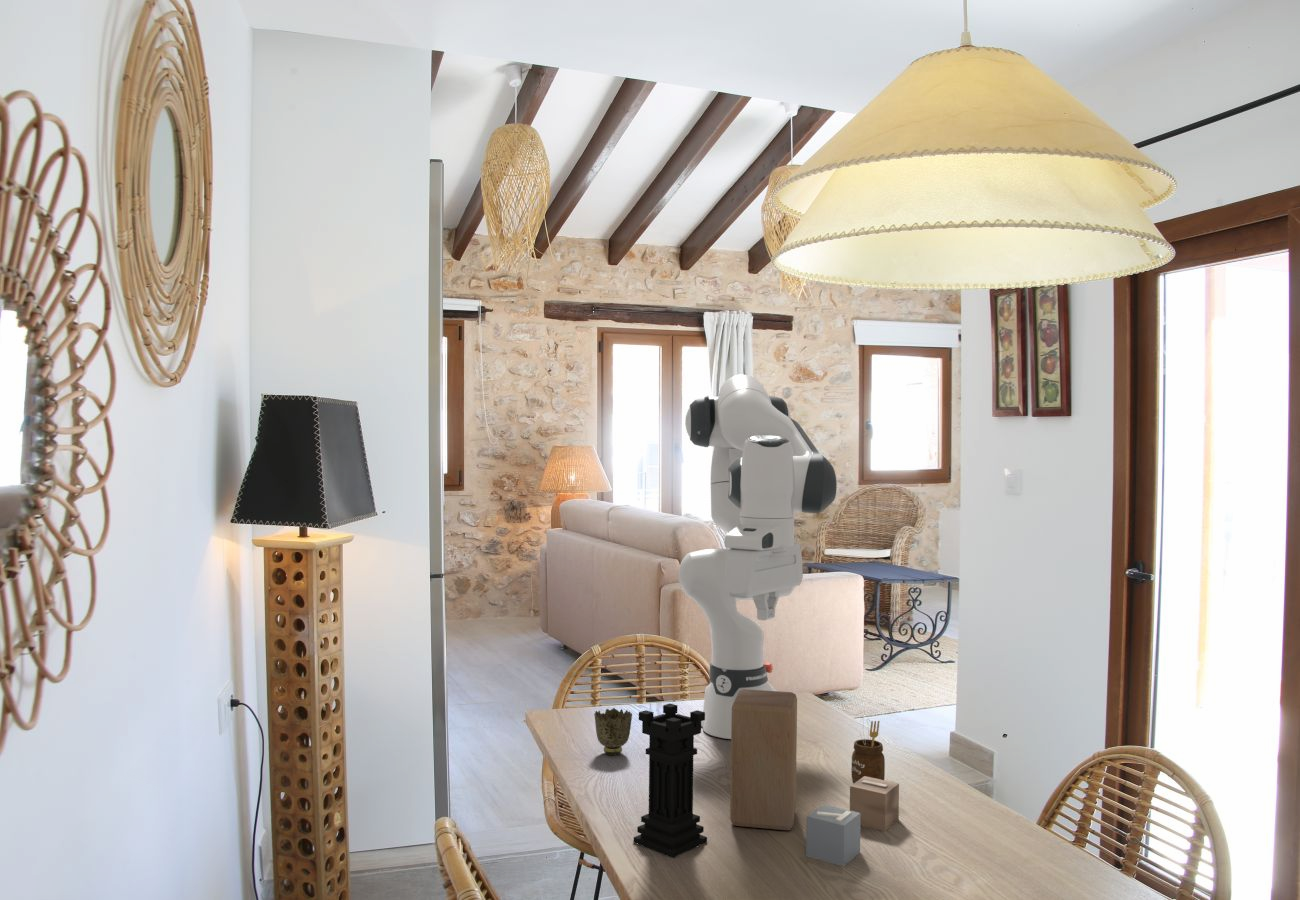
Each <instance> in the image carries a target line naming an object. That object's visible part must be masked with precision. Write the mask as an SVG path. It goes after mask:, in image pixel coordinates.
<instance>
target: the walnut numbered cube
mask: <svg viewBox="0 0 1300 900" xmlns="http://www.w3.org/2000/svg"><path fill="white" fill-rule="evenodd" d="M899 805H900V783H899V782H894V781H889V780H885V779H884V780H881V779H876V778H871V777H867V776H864V777H862V778H861V779H859V780H858V781H857V782H854V783H853V784H850V786H849V810H850V811H854V812H858V813H861V816H860V826H862V827H866V826H867V827H866V828H870V827H871V828H870V829H875V830H879V831H883V832H886V831H887V830H888V829H890V828H891V827H892V826H893V825H894V824H895V823H897V822H898V821H899V815H900V809H899V808H900V806H899Z"/></svg>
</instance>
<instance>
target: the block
mask: <svg viewBox="0 0 1300 900" xmlns="http://www.w3.org/2000/svg"><path fill="white" fill-rule="evenodd" d="M797 733H798V697H797V695H796V693H793V692H791V691H778V690H776V691H764V690H748V689H743V690H740V691H739V692H738V694H737V696H736V699H735V701H734V703H733V705H732V725H731V739H730V740H731V741H730V746H731V747H730V749H731V750H730V805H729V806H730V811H729V812H730V816H729V819H730V822H731V824H732V826H733V825H734V826H736V827H747V828H756V829H757V828H758V829H766V830H767V829H768V830H777V831H778V830H779V831H790V830H792V828H793V826H794V821H795V814H796V813H795V812H796V808H797V748H798V747H797V743H798V742H797V738H798V737H797V736H798V735H797Z"/></svg>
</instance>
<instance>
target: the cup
mask: <svg viewBox="0 0 1300 900" xmlns="http://www.w3.org/2000/svg"><path fill="white" fill-rule="evenodd" d="M593 715H594V722H595V723H594V724H595V732H596V737H597V740H598V742H599V743H600V745H602V746H603V752H604V753H605V754H606V755H608V756H617V755H621V754H622V752H623V746H625V745H626V743H627V742H629V741H628V740H629V738H630V735H631V728H632V719H633V718H632V717H633V712H631V711H628V709H626V710H625V712H624V711H623V709H620V710H618V709H616V708H614V707H613V708H611V709H609V708H606V709H605V711H604V712H602V713H601V711H600V710H598V711H597V710H596V711H595V713H594V714H593Z"/></svg>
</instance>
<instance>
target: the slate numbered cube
mask: <svg viewBox="0 0 1300 900" xmlns="http://www.w3.org/2000/svg"><path fill="white" fill-rule="evenodd" d="M860 816H861V813H858V812H854V811H850V809H844V808H840V807H836V806H834V805H833V806H832V805H828V804H822V805H820V806H819V807H818V808H816V809H815V810H814V811H812V812H811V813H809V814H808V815H806V833H805V836H806V839H805V841H806V842H805V856H806V857H808V858H812V859H816V860H819V861H823V862H827V863H831V864H834V865H838V866H841V867H845V866H846V865H847V864H848V863H849V862H851V861H853V859H854V858H855V857H857V855H859V854H861V825H860Z"/></svg>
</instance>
